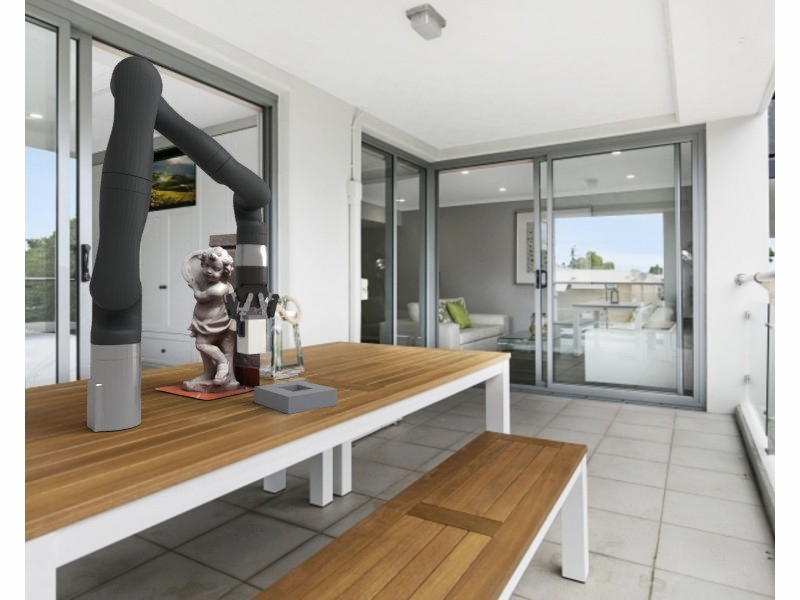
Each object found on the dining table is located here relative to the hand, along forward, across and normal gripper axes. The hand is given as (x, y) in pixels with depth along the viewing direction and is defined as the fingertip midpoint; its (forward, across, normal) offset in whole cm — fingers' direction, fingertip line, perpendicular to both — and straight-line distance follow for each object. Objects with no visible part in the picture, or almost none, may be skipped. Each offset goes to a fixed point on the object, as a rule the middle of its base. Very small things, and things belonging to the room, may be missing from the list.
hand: (251, 336), depth 120 cm
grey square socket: (+18, +11, -2) cm, 21 cm away
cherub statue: (+18, +2, +28) cm, 34 cm away
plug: (+4, 0, 0) cm, 4 cm away
